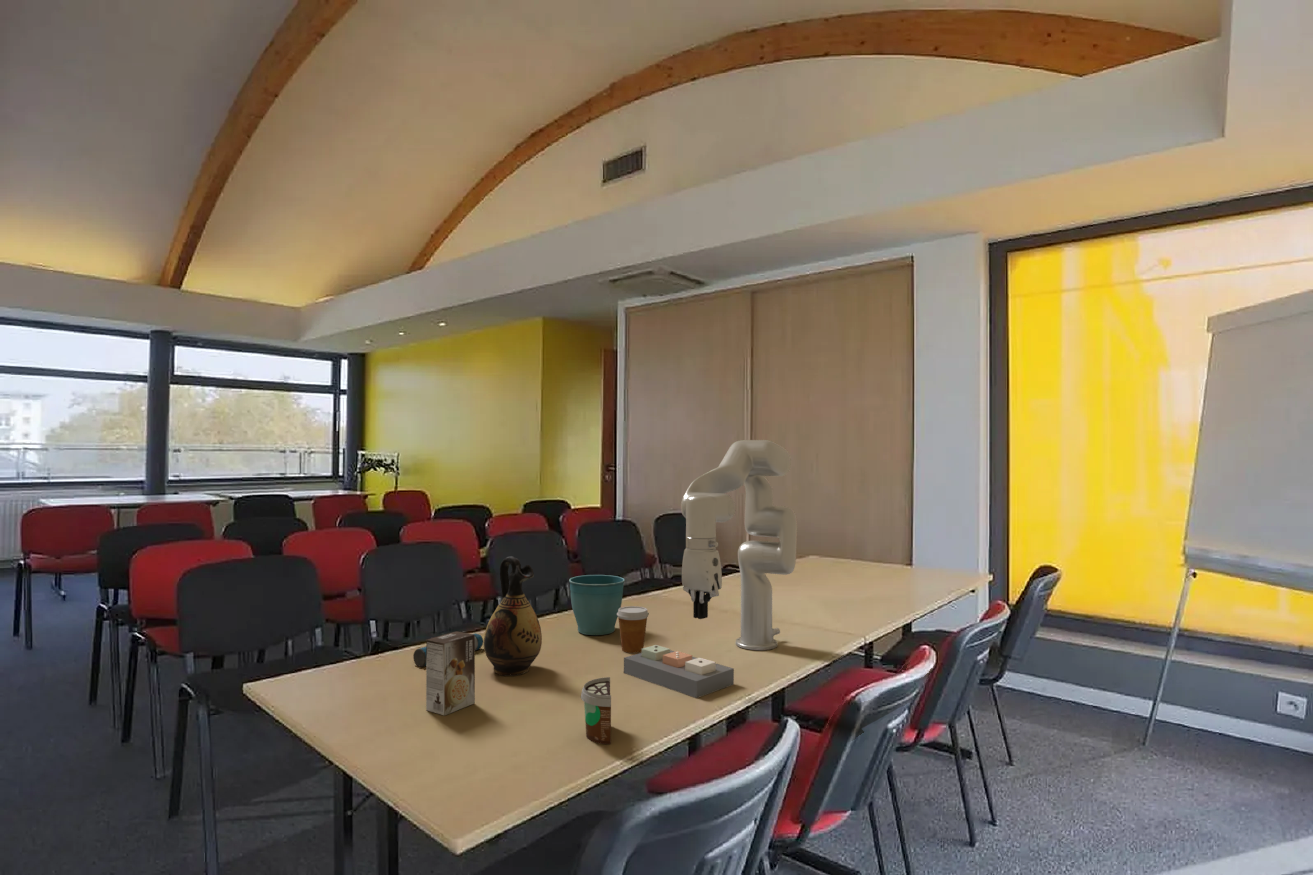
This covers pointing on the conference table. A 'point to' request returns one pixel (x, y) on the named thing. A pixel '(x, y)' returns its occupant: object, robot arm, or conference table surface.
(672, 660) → the button three dots
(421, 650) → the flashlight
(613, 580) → the flower pot
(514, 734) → the conference table surface
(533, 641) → the ceramic jug
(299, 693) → the conference table surface
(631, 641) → the disposable coffee cup
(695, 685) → the console
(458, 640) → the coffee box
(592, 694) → the food container
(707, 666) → the button one dot
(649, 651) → the button two dots
